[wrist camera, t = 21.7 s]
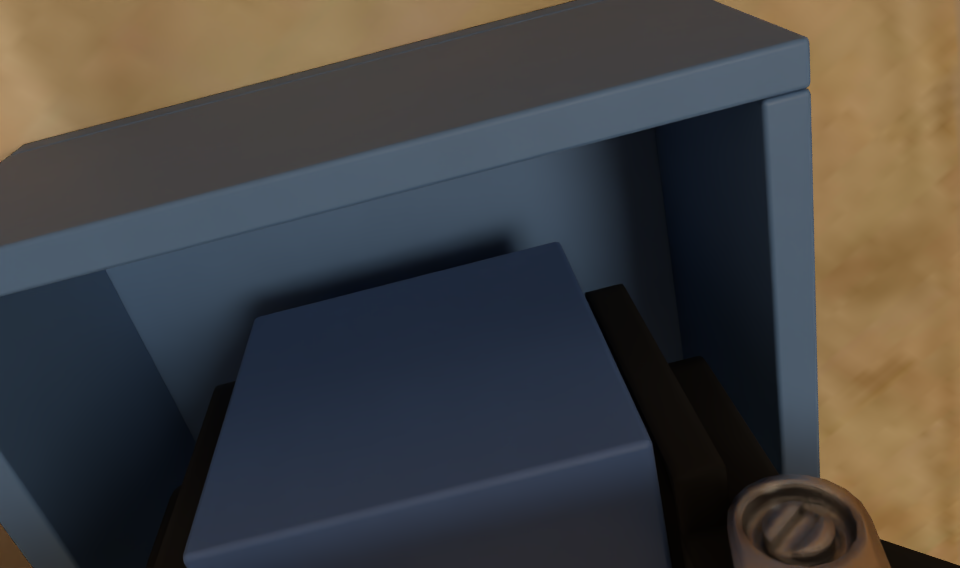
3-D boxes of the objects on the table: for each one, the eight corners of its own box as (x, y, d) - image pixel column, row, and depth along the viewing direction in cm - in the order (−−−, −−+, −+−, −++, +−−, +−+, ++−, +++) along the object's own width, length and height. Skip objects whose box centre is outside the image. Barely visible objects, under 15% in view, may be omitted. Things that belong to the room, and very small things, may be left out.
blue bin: (21, 144, 11) (-174, 291, 7) (660, -23, 11) (812, 36, 7) (257, 583, 16) (216, 821, 12) (714, 467, 16) (826, 668, 12)
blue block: (253, 316, 11) (177, 559, 7) (559, 237, 11) (654, 441, 7) (349, 537, 13) (331, 818, 9) (606, 473, 13) (698, 730, 9)
